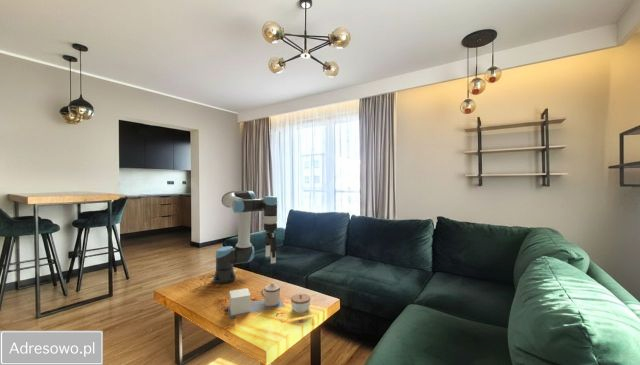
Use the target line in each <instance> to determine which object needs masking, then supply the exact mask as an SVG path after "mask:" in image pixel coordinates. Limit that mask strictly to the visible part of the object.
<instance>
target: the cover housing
mask: <svg viewBox="0 0 640 365" xmlns="http://www.w3.org/2000/svg"><path fill="white" fill-rule="evenodd" d="M251 298H252V297H251V293H250V290H249V288H247V287H246V288H239V289H233V290H229V306H230V312H231V315H236V314H241V313H246V312H251V302H252V300H251Z"/></svg>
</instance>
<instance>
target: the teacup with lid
mask: <svg viewBox="0 0 640 365" xmlns="http://www.w3.org/2000/svg"><path fill="white" fill-rule="evenodd" d="M280 286H281V285H279V284H276V283H275V282H270V284H267V285H265V287H264V288H262V289H261V290H260V294H261V297H263V299H265V305H267V306H275V305H278V304H279V302H280V299H281V297H280V295H281V287H280Z"/></svg>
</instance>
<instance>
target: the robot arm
mask: <svg viewBox="0 0 640 365" xmlns="http://www.w3.org/2000/svg"><path fill="white" fill-rule="evenodd" d="M221 204H222V205H223V206H224V207H226V208H231V209H232V212H234V213H238V230H237V231H238V232H237V233H238V234H237V236H238V237H237V243H236V244H235V247H233V246H231V245H227V246H223V247H220V248H218V249H217V250H216V252H215V271H214V275H213V277H212V278H213V279H212V281H213V283H214V284H216V285H225V284H229V283H232V282H234V281H235V280H236V274H235V270H234V265H237V264H245V263H246V264H247V263H249V262H252V261H253V259H254V258H255V247H254V246H253V244H252V242H251V221H252V220H251V219H252V218H251V217H252V212H253V213H254V212H263V218H262V219H263V230H264V231H265V235H264V236H265V237H264V244H265V257H266V258H267V257H270V264H276V262H277V251H278V250H277V249H278V248H277V247H278V246H277V238H276V233H275V232H274V231H277V229H278V197H277V196H276V195H266V196H263V197H260V198H257V197H256V194H255V191H253V190H235V191H234V190H231V191H227V192H226V193H224V195H223V196H222V197H221Z"/></svg>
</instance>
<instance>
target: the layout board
mask: <svg viewBox="0 0 640 365" xmlns="http://www.w3.org/2000/svg"><path fill="white" fill-rule="evenodd" d="M284 307H286V305H285V304H284V302H283V300H282V299H281V298H280V302H279V304H278V305H275V306H267V305H265V298H263V299H260V300H253V301H251V312H246V313H241V314H236V315H231V312H230V305H228V306H227V312H228V319H229V320H233V319H236V318H237V316H238V317H239V316H243V315H248V314H252V313H258V312H263V311H269V310H274V309H278V308H284Z"/></svg>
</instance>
